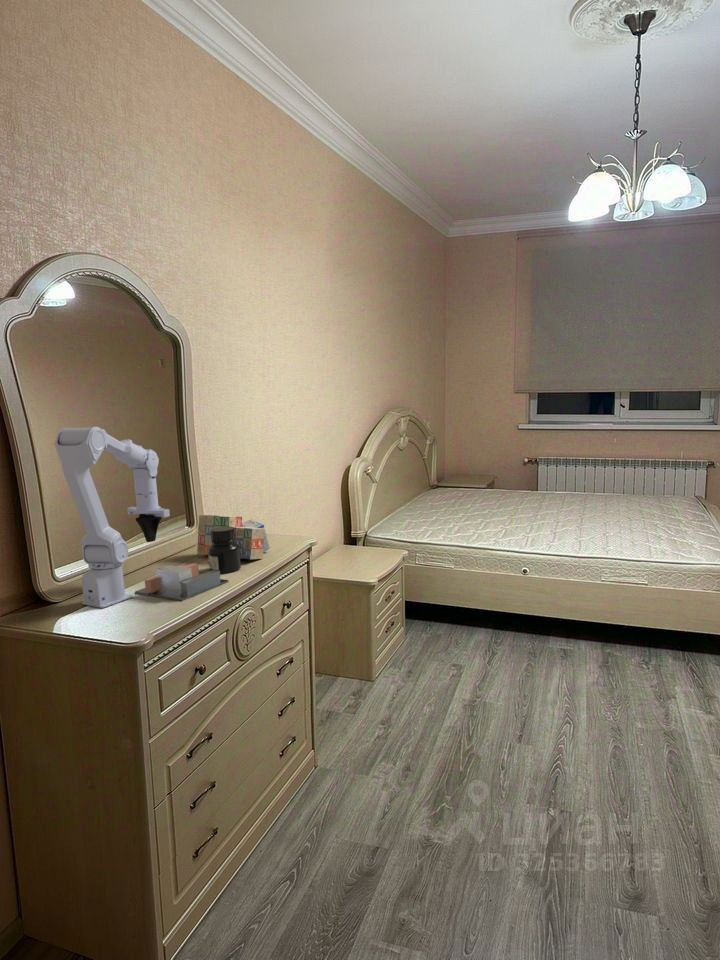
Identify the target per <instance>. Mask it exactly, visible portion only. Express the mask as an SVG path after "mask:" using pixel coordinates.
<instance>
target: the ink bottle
mask: <svg viewBox="0 0 720 960" xmlns="http://www.w3.org/2000/svg"><path fill="white" fill-rule="evenodd" d="M210 534H211V542H212V543H213V544H212V545H211V546H210V547H209V549H208V555H207V556H208V564H209V565H208V566H209V571H212V570H220V574H227V573H233V572H237V571H239V570H240V569H241V568H242V563H241V562H242V561H241V558H240V547H239V545H238V544H236V543H235V542H234V541H235V530H234V527H232V526H222V527H215V528H212V529H210Z"/></svg>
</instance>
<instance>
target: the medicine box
mask: <svg viewBox="0 0 720 960" xmlns="http://www.w3.org/2000/svg"><path fill="white" fill-rule="evenodd" d="M241 527H255V528H265V525H264V524H262V523H260V522H258V521H255V520H252V519H249V520H245V521H244V522H242V526H241ZM265 529H266V528H265ZM267 535H268V534H267V532H266V530H265V534H264V548H263V553H264V552H266V551H268V550H270V548H271V546H270V543H269V539H268V536H267Z"/></svg>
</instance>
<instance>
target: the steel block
mask: <svg viewBox="0 0 720 960" xmlns="http://www.w3.org/2000/svg"><path fill="white" fill-rule="evenodd" d="M155 571H156V573H155V574H156V576H157V584H158V592H161V593H167V594H173V595H180V596H181V595H182V594H181V591H180V584H181V582H183V581H185V580H188V579H191V570H190V568H184V567H183V566H177V565H176V566H175V565H165V566H161V567H159V568H156V570H155Z"/></svg>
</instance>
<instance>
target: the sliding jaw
mask: <svg viewBox="0 0 720 960" xmlns="http://www.w3.org/2000/svg"><path fill="white" fill-rule="evenodd" d="M182 567H184V568H190V570H191V578H193V577H195V576H199V575H200V570H199V563H193V562H191V563H189V564H187V565H183V566H182ZM144 588H145V589H146V592H148V593H153V592H155V591H158V584H157V575H155V576H152V577H150V578H146V579H145V580H144Z"/></svg>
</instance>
